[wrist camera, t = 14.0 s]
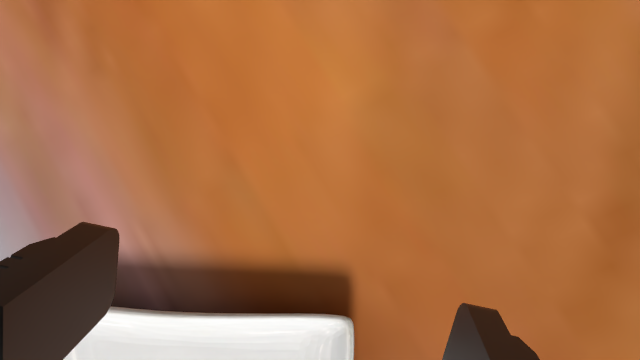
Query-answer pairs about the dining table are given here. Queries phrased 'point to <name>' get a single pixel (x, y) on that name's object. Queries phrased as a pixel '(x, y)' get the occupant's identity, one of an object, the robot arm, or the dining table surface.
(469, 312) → the robot arm
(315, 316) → the square plate
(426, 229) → the dining table surface
